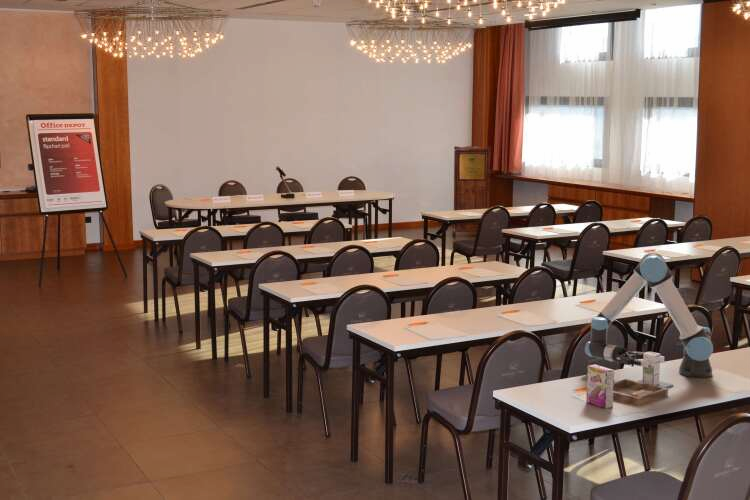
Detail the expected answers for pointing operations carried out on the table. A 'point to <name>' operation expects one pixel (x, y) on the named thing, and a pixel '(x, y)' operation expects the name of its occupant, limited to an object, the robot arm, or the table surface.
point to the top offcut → (641, 393)
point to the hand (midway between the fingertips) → (656, 362)
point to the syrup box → (651, 368)
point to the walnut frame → (656, 391)
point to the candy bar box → (600, 386)
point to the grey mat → (661, 384)
